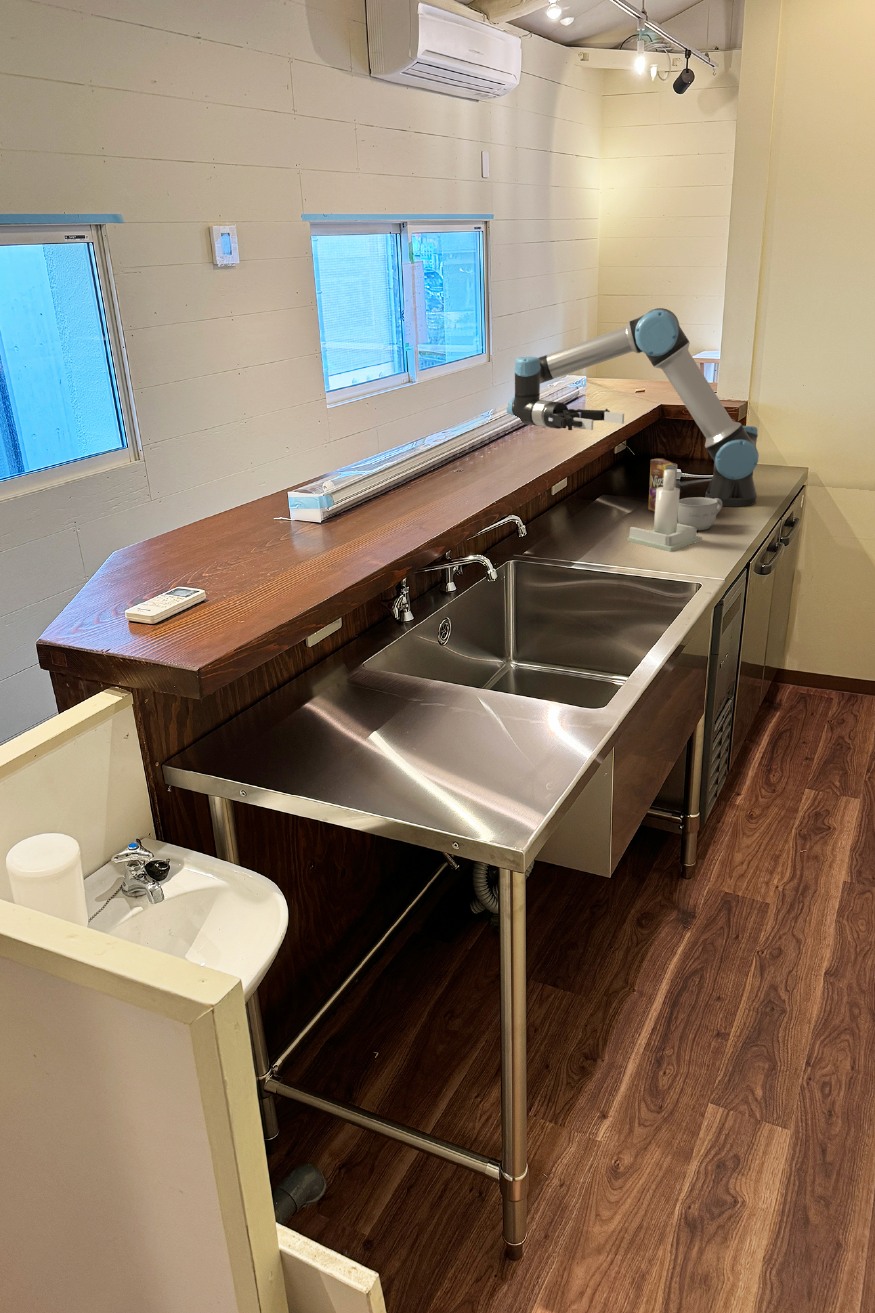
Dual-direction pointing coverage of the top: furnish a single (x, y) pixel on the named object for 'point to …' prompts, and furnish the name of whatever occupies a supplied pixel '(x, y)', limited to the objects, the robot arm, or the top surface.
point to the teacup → (698, 511)
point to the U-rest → (665, 537)
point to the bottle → (667, 505)
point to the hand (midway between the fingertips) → (608, 421)
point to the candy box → (658, 478)
